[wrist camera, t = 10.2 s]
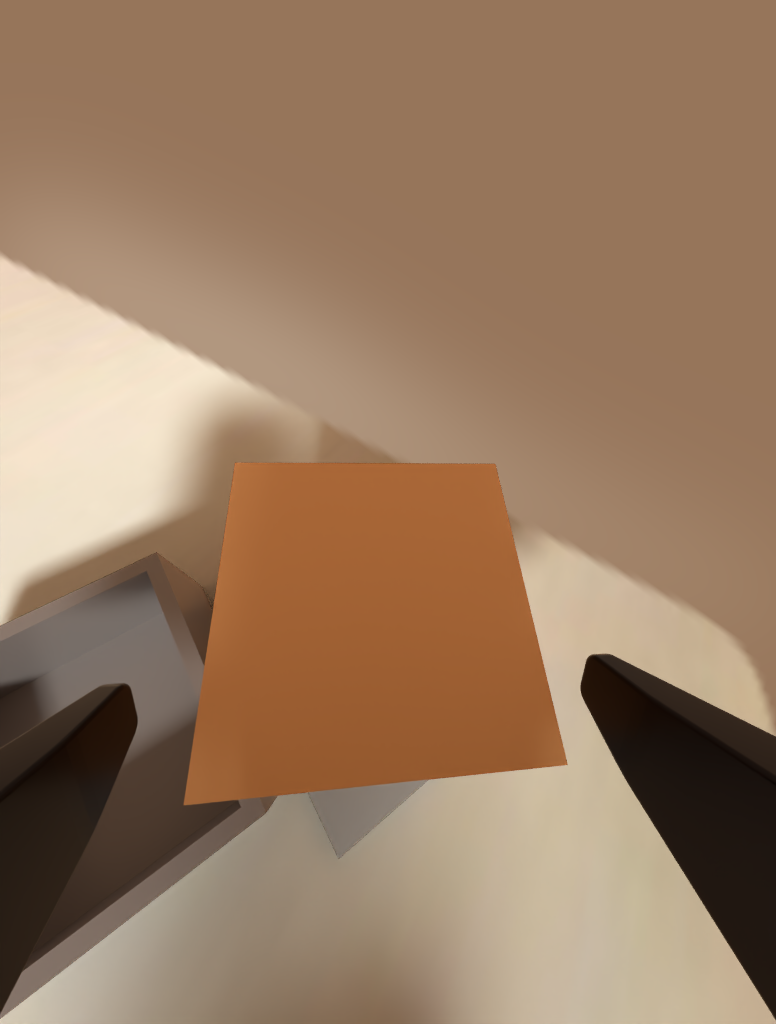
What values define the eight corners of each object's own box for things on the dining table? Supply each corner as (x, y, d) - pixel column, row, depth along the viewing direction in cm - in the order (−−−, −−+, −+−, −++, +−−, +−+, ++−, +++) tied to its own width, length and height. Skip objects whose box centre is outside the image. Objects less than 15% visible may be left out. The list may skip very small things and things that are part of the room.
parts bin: (288, 778, 14) (265, 813, 10) (19, 983, 11) (-167, 1148, 7) (201, 585, 17) (156, 552, 13) (-30, 706, 14) (-181, 711, 10)
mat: (506, 706, 16) (511, 706, 15) (338, 852, 13) (338, 858, 13) (373, 515, 20) (374, 510, 19) (220, 598, 17) (215, 595, 16)
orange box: (435, 722, 15) (567, 764, 6) (286, 735, 14) (183, 805, 5) (419, 576, 18) (494, 456, 9) (294, 581, 17) (236, 455, 8)
